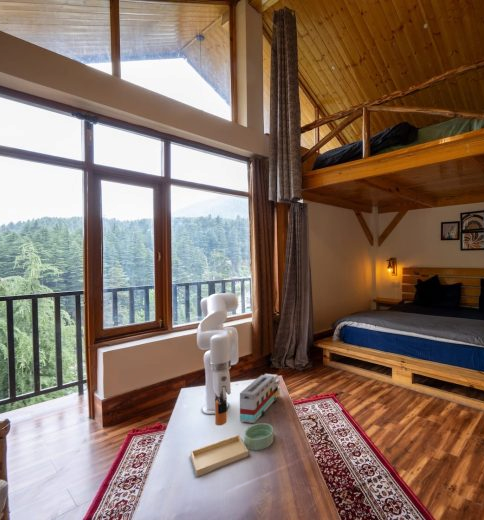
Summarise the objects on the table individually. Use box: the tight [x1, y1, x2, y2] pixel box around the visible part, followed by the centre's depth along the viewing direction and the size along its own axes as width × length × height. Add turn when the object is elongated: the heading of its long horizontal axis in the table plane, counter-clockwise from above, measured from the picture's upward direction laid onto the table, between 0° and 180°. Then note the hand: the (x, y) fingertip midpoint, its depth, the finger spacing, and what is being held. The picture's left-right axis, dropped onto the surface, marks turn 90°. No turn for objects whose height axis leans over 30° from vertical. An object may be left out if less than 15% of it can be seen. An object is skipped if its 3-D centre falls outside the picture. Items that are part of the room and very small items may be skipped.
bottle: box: [214, 397, 228, 426], centre depth 121 cm, size 4×4×11 cm
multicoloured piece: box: [239, 373, 281, 424], centre depth 159 cm, size 8×30×15 cm, turn 168°
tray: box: [190, 434, 249, 478], centre depth 121 cm, size 13×19×2 cm
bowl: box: [244, 422, 274, 451], centre depth 130 cm, size 12×12×5 cm
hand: (220, 409), depth 121 cm, fingers closed on bottle, 4 cm apart
